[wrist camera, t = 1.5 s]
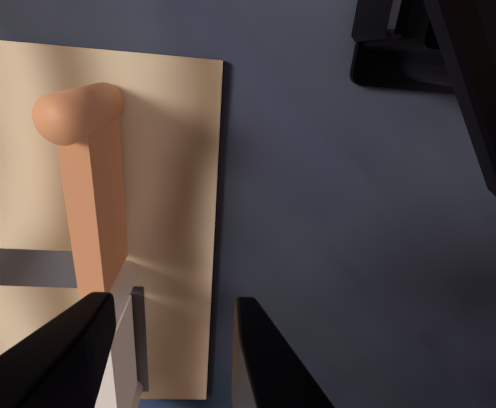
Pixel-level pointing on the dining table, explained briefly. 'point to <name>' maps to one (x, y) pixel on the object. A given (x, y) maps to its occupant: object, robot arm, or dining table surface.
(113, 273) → the gate panel
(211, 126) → the card
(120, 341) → the fence fixed
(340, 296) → the dining table surface
